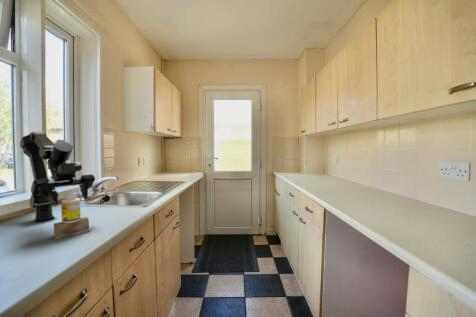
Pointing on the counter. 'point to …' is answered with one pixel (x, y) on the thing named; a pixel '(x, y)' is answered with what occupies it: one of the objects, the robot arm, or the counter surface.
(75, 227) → the block
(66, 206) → the supplement bottle
